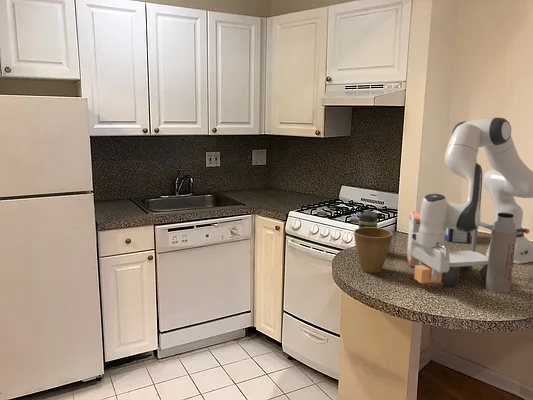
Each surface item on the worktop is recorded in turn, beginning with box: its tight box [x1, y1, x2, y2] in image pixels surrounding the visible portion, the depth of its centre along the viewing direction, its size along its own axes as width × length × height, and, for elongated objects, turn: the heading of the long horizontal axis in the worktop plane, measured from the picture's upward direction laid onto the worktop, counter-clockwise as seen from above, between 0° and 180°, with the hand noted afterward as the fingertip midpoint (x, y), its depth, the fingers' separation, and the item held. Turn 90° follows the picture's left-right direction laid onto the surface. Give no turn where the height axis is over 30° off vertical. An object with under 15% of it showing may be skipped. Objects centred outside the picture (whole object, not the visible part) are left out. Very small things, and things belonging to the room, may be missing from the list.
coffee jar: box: [358, 210, 379, 228], centre depth 207 cm, size 10×8×19 cm
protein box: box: [444, 227, 472, 244], centre depth 231 cm, size 10×15×16 cm
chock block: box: [413, 265, 442, 284], centre depth 165 cm, size 8×5×5 cm, turn 101°
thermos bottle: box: [485, 213, 517, 294], centre depth 163 cm, size 8×8×28 cm
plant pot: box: [353, 227, 393, 274], centre depth 182 cm, size 15×15×16 cm
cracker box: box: [406, 211, 420, 268], centre depth 192 cm, size 14×6×21 cm, turn 168°
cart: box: [418, 221, 494, 287], centre depth 175 cm, size 24×17×21 cm
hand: (427, 276), depth 166 cm, fingers closed on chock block, 5 cm apart
